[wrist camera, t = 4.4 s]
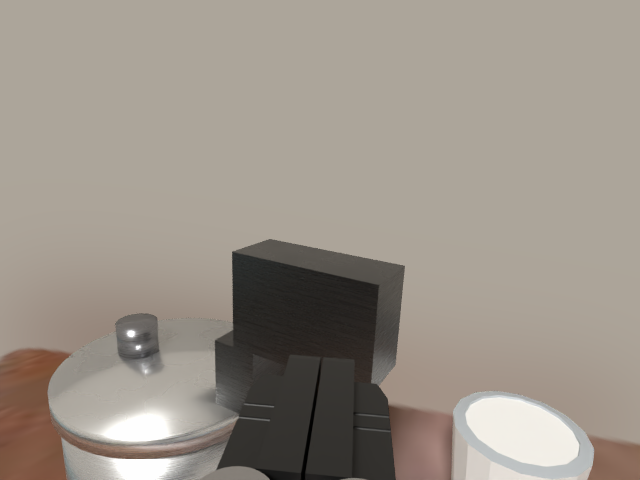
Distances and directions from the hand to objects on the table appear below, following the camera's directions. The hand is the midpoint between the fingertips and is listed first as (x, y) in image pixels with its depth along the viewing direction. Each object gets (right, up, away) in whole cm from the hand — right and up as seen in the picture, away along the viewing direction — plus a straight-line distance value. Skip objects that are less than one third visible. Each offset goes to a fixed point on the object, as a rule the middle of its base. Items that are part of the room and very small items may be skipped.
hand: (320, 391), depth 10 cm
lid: (-5, -4, +11) cm, 12 cm away
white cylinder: (+10, -13, +15) cm, 22 cm away
